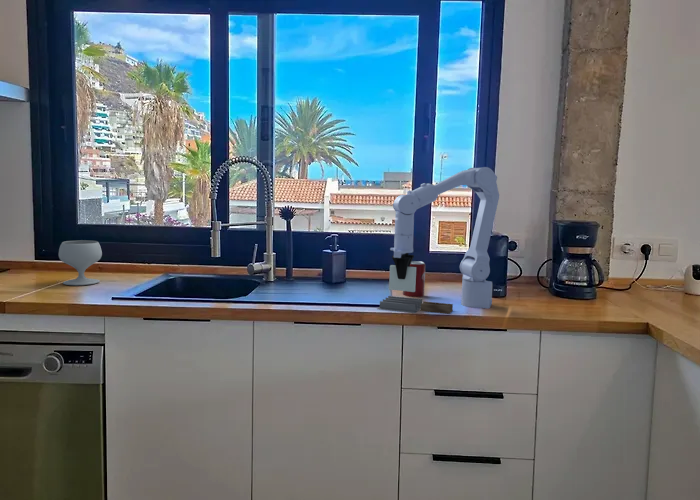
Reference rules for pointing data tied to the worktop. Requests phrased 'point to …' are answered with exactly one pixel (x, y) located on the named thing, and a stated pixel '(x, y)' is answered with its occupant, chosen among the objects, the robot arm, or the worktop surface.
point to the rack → (400, 304)
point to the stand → (436, 307)
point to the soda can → (418, 280)
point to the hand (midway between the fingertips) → (402, 278)
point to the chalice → (80, 258)
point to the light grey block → (402, 280)
